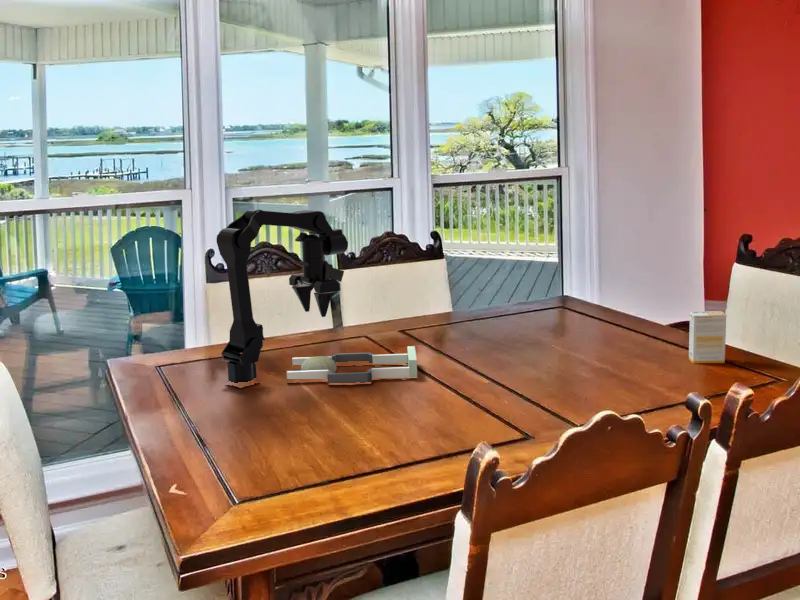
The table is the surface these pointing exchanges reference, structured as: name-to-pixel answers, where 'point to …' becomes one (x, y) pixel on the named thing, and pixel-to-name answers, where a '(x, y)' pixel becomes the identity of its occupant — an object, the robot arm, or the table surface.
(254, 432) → the table surface
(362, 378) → the trap lane
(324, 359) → the sea urchin shell
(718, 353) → the supplement box
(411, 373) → the end block
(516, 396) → the table surface
